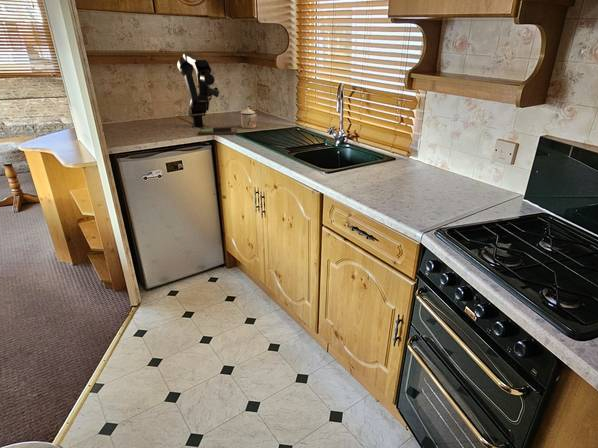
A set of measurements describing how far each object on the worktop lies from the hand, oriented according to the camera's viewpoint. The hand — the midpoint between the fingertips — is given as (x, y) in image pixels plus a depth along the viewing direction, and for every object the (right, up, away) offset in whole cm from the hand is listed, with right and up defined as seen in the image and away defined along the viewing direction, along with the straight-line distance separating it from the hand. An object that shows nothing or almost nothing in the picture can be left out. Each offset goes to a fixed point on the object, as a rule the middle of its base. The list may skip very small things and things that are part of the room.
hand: (206, 111), depth 234 cm
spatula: (+6, -12, -3) cm, 14 cm away
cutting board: (+7, -13, -1) cm, 14 cm away
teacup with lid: (+22, -5, +17) cm, 28 cm away
